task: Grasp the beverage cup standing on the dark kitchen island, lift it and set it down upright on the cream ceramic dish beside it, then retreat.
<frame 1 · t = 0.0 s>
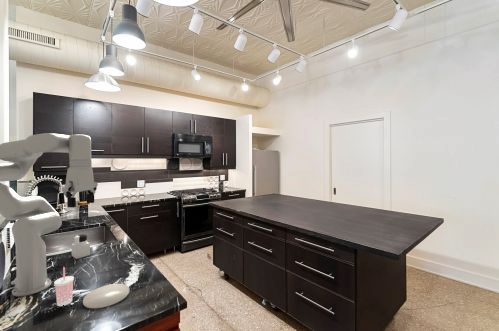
hand: (81, 205, 99), 37 cm above the countertop, tool pointing down, fingers open, 9 cm apart
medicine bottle: (81, 255, 137), on the countertop
beverage cup: (64, 303, 92), on the countertop
dish: (107, 296, 95), on the countertop
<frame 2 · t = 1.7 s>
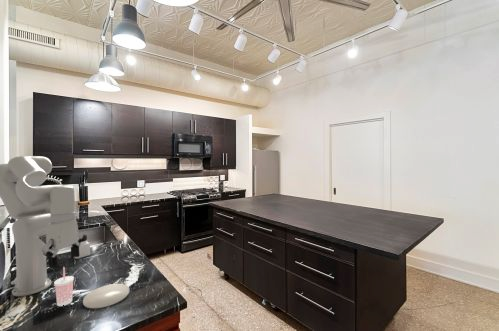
hand: (64, 261, 91), 16 cm above the countertop, tool pointing down, fingers open, 9 cm apart
nothing on the countertop moved.
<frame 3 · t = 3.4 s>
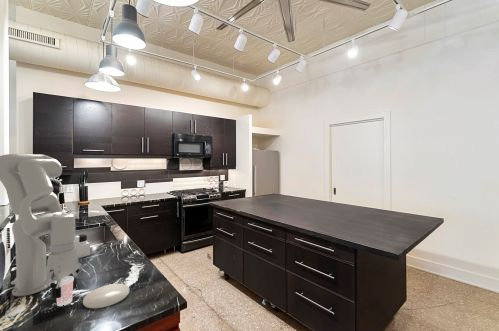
hand: (64, 292, 92), 4 cm above the countertop, tool pointing down, fingers closed on beverage cup, 6 cm apart
beverage cup: (64, 303, 92), on the countertop, touching gripper
everything else where it was.
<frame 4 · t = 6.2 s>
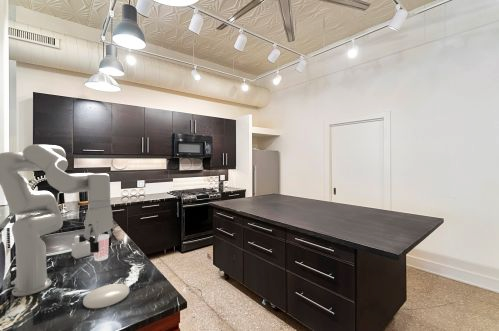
hand: (101, 248, 94), 20 cm above the countertop, tool pointing down, fingers closed on beverage cup, 6 cm apart
beverage cup: (101, 259, 94), point 16 cm above the countertop, touching gripper
everything else where it was.
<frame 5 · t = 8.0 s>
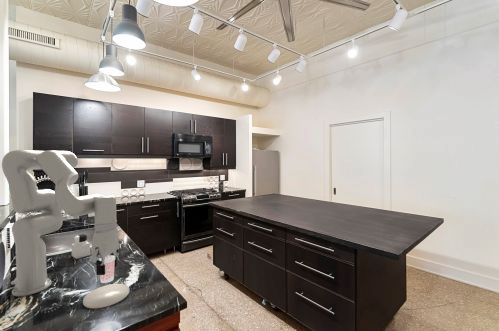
hand: (107, 270, 95), 11 cm above the countertop, tool pointing down, fingers closed on beverage cup, 6 cm apart
beverage cup: (107, 280, 95), point 7 cm above the countertop, touching gripper
everything else where it was.
when the fingers open (7 cm above the countertop, at t = 9.3 s): beverage cup drops 1 cm, resting on dish.
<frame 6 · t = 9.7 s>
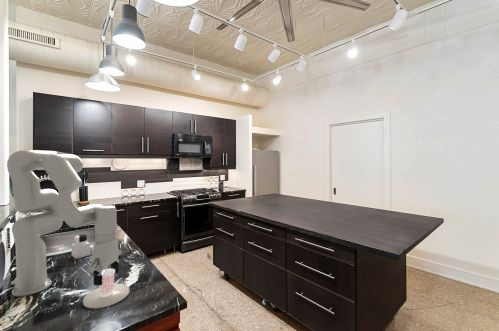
hand: (106, 278, 95), 7 cm above the countertop, tool pointing down, fingers open, 9 cm apart
beverage cup: (106, 294, 95), point 1 cm above the countertop, touching dish
everything else where it was.
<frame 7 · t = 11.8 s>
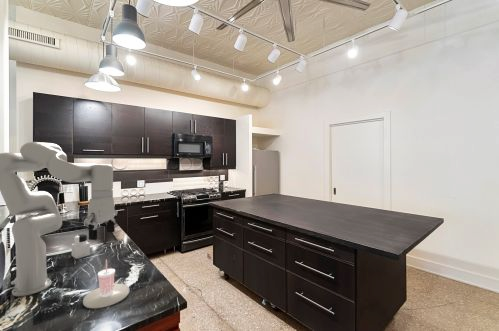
hand: (102, 235, 96), 24 cm above the countertop, tool pointing down, fingers open, 9 cm apart
nothing on the countertop moved.
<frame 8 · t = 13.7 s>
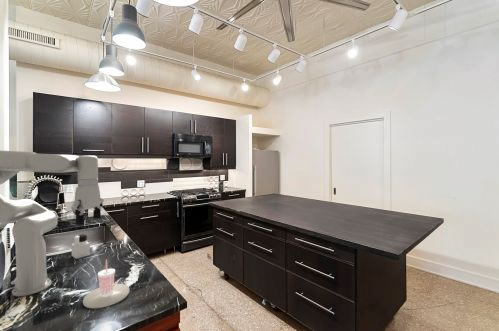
hand: (88, 221, 105), 28 cm above the countertop, tool pointing down, fingers open, 9 cm apart
nothing on the countertop moved.
at the end: beverage cup inside the target area on the dish (0.2 cm from its centre), point 1.0 cm above the dish's base; beverage cup tilted 0°; the gripper is holding nothing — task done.
